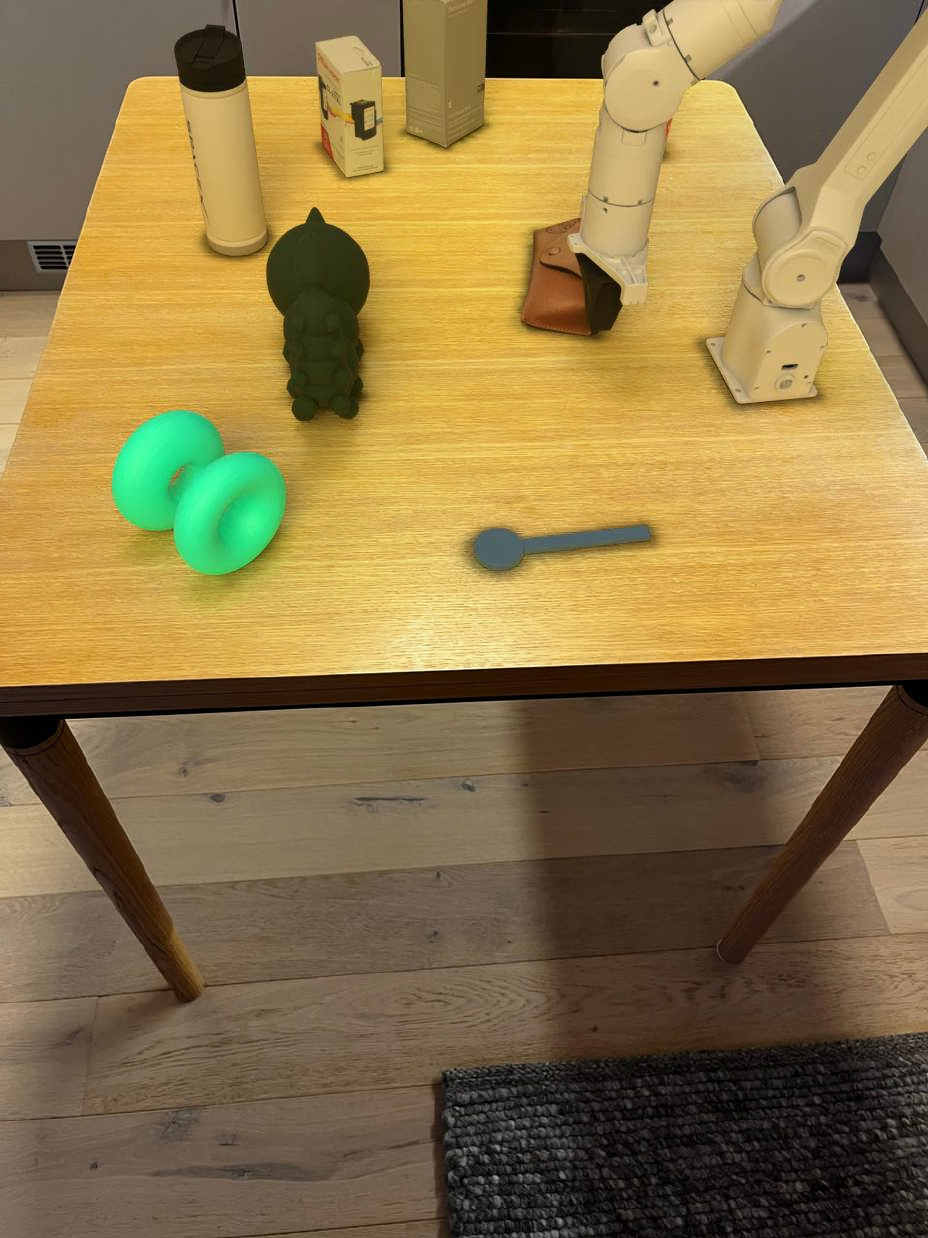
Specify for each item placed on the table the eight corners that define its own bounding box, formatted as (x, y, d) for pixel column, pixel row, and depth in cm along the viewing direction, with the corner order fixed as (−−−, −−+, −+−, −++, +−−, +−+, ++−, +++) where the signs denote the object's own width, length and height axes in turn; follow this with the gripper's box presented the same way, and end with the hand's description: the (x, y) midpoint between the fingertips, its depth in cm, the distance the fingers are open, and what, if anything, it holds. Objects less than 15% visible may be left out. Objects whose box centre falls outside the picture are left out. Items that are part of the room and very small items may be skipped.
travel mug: (274, 225, 109) (249, 25, 93) (260, 259, 105) (232, 56, 89) (217, 220, 109) (183, 20, 93) (201, 254, 105) (163, 51, 89)
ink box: (320, 144, 120) (312, 38, 111) (358, 137, 122) (353, 32, 112) (346, 178, 115) (339, 71, 106) (385, 171, 117) (382, 64, 108)
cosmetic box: (446, 150, 120) (448, 4, 108) (399, 131, 123) (397, -13, 110) (487, 124, 125) (495, -18, 112) (442, 106, 127) (444, -35, 115)
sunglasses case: (529, 226, 109) (566, 178, 105) (580, 260, 112) (618, 215, 107) (518, 325, 98) (559, 276, 94) (574, 360, 101) (617, 315, 96)
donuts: (215, 475, 85) (195, 380, 77) (300, 533, 81) (287, 439, 73) (120, 541, 80) (88, 446, 72) (205, 605, 76) (181, 513, 68)
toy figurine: (382, 463, 89) (367, 278, 102) (377, 287, 73) (360, 96, 86) (275, 468, 88) (274, 281, 101) (245, 291, 72) (249, 97, 85)
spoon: (654, 553, 81) (656, 547, 80) (478, 573, 79) (479, 567, 78) (640, 517, 83) (642, 511, 83) (469, 536, 81) (469, 530, 81)
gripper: (555, 148, 88) (540, 285, 98) (598, 239, 79) (577, 378, 90) (632, 144, 89) (609, 279, 99) (683, 233, 80) (652, 371, 91)
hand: (599, 326), depth 95 cm, fingers closed
